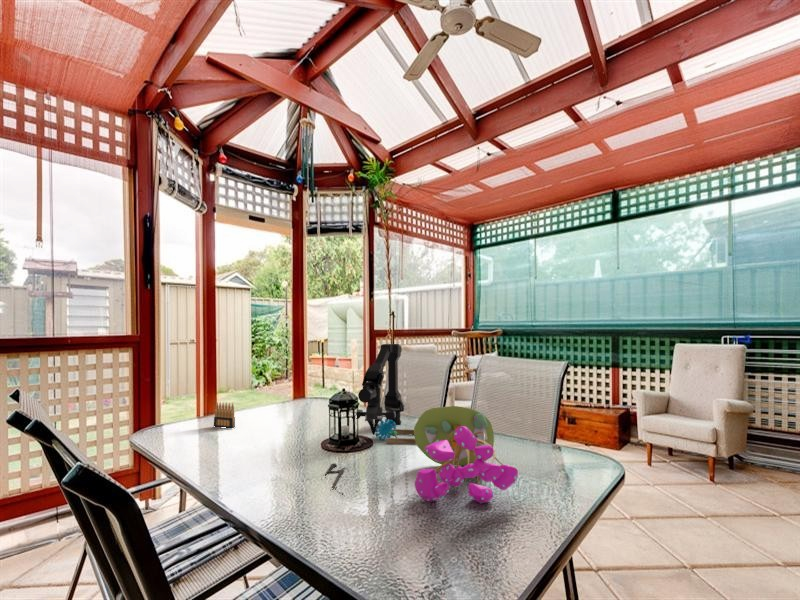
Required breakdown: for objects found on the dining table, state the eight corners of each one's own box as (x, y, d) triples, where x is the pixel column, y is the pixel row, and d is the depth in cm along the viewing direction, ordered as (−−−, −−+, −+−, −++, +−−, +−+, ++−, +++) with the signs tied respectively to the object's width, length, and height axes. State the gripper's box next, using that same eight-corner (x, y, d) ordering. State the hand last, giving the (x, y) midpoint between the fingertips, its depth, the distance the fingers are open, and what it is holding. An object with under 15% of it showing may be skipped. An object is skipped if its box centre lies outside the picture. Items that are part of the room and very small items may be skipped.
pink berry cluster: (488, 381, 128) (505, 422, 94) (509, 458, 130) (534, 528, 95) (404, 401, 132) (392, 448, 98) (426, 476, 134) (421, 549, 99)
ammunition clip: (213, 427, 179) (214, 402, 180) (216, 426, 181) (217, 401, 182) (232, 429, 176) (233, 403, 177) (235, 428, 178) (235, 402, 179)
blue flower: (369, 433, 163) (382, 414, 168) (375, 440, 167) (388, 422, 172) (387, 442, 156) (400, 422, 161) (393, 449, 159) (406, 430, 164)
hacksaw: (331, 466, 132) (331, 462, 132) (360, 467, 130) (360, 463, 131) (306, 498, 108) (306, 492, 108) (341, 500, 107) (341, 494, 107)
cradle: (389, 433, 169) (389, 426, 169) (433, 434, 168) (433, 427, 168) (386, 443, 155) (386, 436, 155) (435, 444, 154) (435, 437, 154)
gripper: (349, 401, 156) (348, 439, 155) (393, 402, 155) (393, 440, 154) (354, 396, 167) (353, 431, 166) (395, 397, 166) (395, 433, 165)
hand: (373, 434), depth 163 cm, fingers closed
